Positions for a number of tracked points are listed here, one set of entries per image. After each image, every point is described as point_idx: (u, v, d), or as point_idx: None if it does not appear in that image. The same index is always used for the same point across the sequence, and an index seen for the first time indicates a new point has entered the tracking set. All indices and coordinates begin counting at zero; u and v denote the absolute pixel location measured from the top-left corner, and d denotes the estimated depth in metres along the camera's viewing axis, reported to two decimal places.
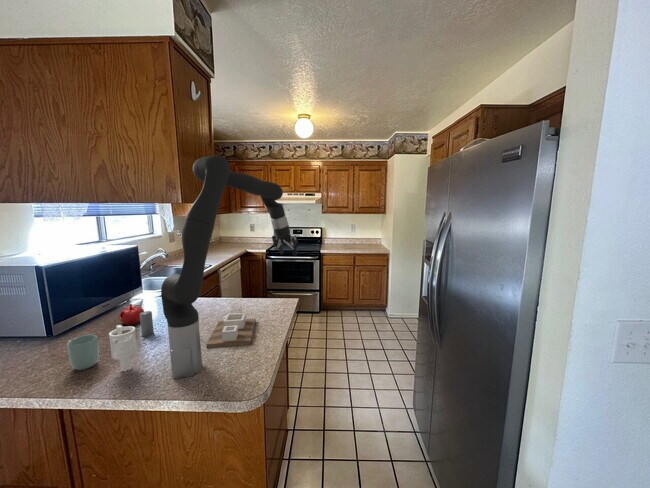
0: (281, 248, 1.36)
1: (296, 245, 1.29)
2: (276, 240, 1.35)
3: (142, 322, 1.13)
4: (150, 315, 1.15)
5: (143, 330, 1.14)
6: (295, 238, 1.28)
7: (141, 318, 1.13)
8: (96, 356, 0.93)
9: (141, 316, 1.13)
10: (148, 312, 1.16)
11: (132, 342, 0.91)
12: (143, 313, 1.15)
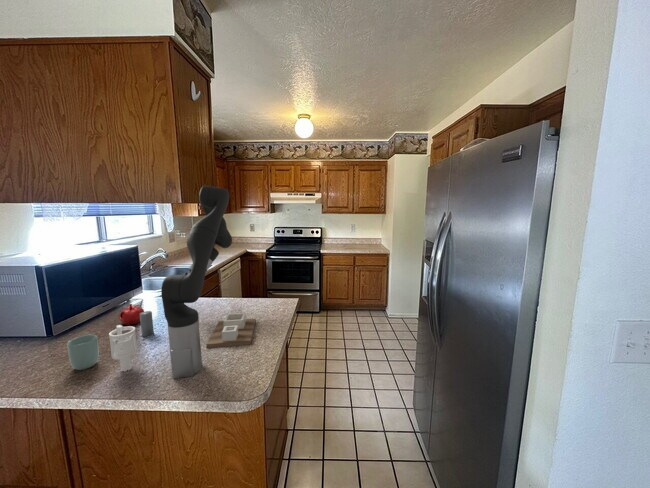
0: None
1: None
2: None
3: (142, 322, 1.13)
4: (150, 315, 1.15)
5: (143, 330, 1.14)
6: None
7: (141, 318, 1.13)
8: (96, 356, 0.93)
9: (141, 316, 1.13)
10: (148, 312, 1.16)
11: (132, 342, 0.91)
12: (143, 313, 1.15)
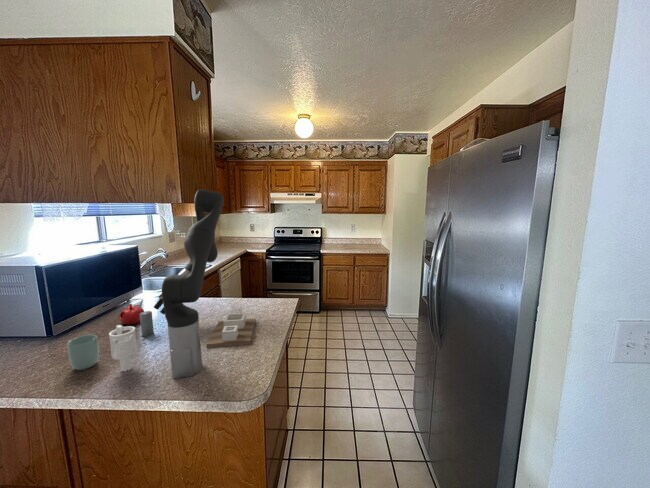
0: (160, 303, 1.23)
1: None
2: None
3: (142, 322, 1.13)
4: (150, 315, 1.15)
5: (143, 330, 1.14)
6: None
7: (141, 318, 1.13)
8: (96, 356, 0.93)
9: (141, 316, 1.13)
10: (148, 312, 1.16)
11: (132, 342, 0.91)
12: (143, 313, 1.15)
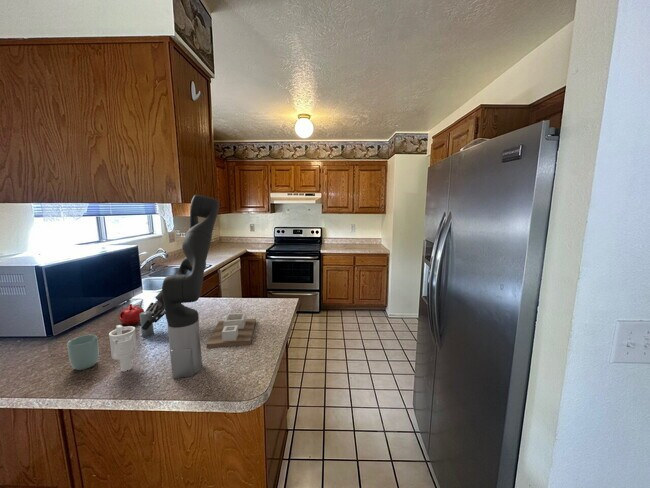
0: None
1: (155, 318, 1.14)
2: None
3: (142, 322, 1.13)
4: (150, 315, 1.15)
5: (143, 330, 1.14)
6: (162, 313, 1.14)
7: (141, 318, 1.13)
8: (96, 356, 0.93)
9: (141, 316, 1.13)
10: (148, 312, 1.16)
11: (132, 342, 0.91)
12: (143, 313, 1.15)
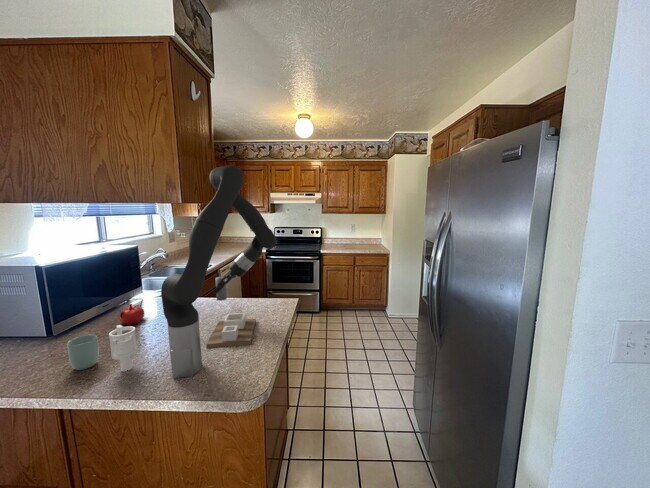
0: None
1: (221, 284, 1.16)
2: None
3: None
4: None
5: None
6: (225, 280, 1.14)
7: None
8: (96, 356, 0.93)
9: (215, 279, 1.20)
10: (222, 277, 1.21)
11: (132, 342, 0.91)
12: (218, 277, 1.21)
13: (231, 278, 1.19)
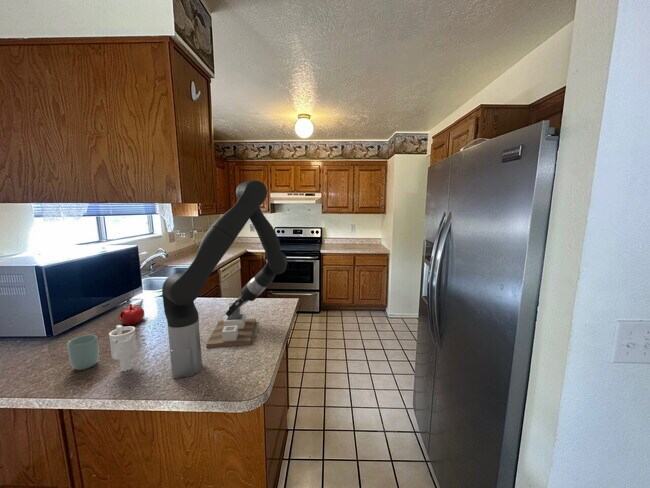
0: None
1: (232, 308, 1.15)
2: None
3: None
4: None
5: (230, 319, 1.21)
6: (236, 304, 1.13)
7: None
8: (96, 356, 0.93)
9: (229, 306, 1.20)
10: None
11: (132, 342, 0.91)
12: (232, 303, 1.21)
13: (243, 302, 1.17)
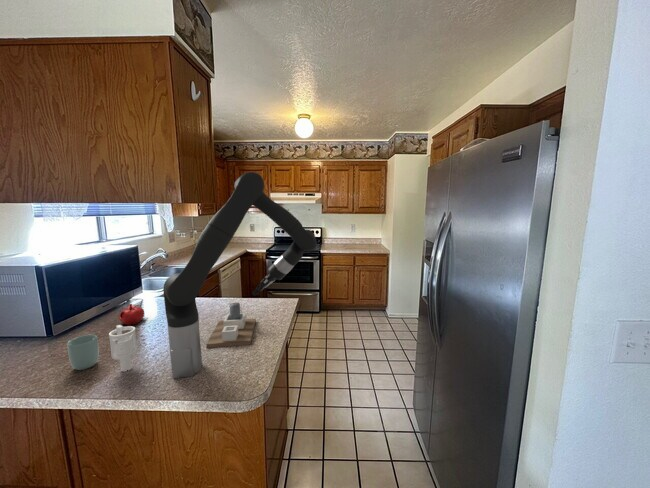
0: None
1: (259, 287, 1.10)
2: None
3: (230, 312, 1.20)
4: (235, 308, 1.19)
5: (230, 319, 1.21)
6: (265, 282, 1.09)
7: None
8: (96, 356, 0.93)
9: None
10: (236, 304, 1.20)
11: (132, 342, 0.91)
12: (233, 304, 1.21)
13: (270, 281, 1.14)
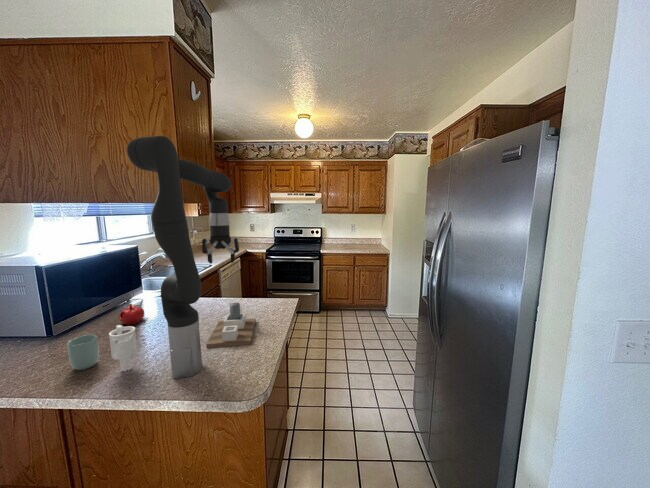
0: (211, 256, 1.11)
1: None
2: (206, 245, 1.10)
3: (230, 312, 1.20)
4: (235, 308, 1.19)
5: (230, 319, 1.21)
6: (237, 240, 1.12)
7: None
8: (96, 356, 0.93)
9: None
10: (236, 304, 1.20)
11: (132, 342, 0.91)
12: (233, 304, 1.21)
13: None
